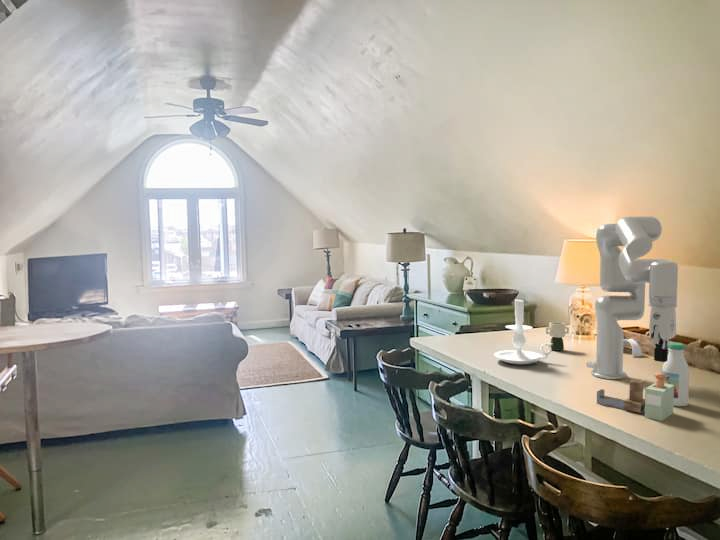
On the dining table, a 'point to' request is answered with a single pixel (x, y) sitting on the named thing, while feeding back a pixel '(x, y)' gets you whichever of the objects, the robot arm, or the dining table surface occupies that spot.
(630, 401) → the carriage
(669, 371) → the milk bottle
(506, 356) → the candlestick
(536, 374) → the dining table surface
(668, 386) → the cabinet
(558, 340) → the character mug
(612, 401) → the rail
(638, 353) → the white arch
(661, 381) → the gauge plunger
